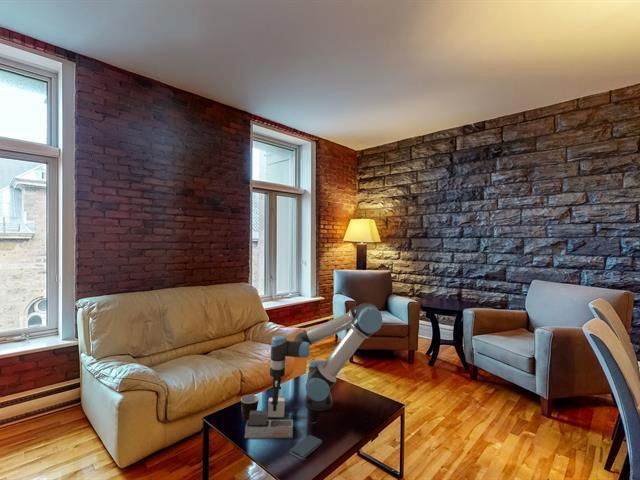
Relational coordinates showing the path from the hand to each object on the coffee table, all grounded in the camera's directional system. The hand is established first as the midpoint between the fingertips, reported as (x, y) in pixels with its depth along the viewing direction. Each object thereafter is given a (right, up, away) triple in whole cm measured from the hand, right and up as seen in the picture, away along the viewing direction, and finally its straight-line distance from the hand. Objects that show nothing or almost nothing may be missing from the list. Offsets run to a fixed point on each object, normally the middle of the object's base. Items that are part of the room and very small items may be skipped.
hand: (275, 409), depth 163 cm
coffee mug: (-12, -3, -3) cm, 13 cm away
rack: (-1, -3, -15) cm, 15 cm away
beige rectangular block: (0, -3, 0) cm, 3 cm away
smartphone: (+17, -4, -25) cm, 30 cm away
